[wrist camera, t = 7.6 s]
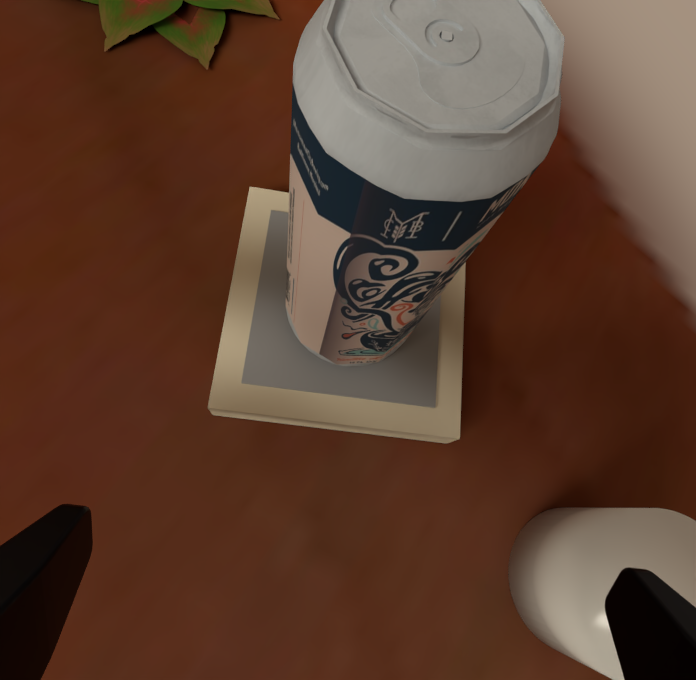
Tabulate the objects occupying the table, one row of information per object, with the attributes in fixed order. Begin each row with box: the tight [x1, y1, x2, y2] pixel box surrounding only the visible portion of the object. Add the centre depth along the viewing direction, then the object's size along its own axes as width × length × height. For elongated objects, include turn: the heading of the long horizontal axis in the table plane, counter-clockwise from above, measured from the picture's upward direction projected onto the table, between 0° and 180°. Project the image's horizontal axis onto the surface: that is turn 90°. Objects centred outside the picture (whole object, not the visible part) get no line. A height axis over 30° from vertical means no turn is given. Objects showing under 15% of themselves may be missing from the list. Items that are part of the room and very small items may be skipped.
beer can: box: [285, 0, 565, 367], centre depth 14 cm, size 5×5×12 cm
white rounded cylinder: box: [508, 508, 696, 680], centre depth 17 cm, size 5×5×5 cm
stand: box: [208, 187, 466, 444], centre depth 20 cm, size 9×9×2 cm
